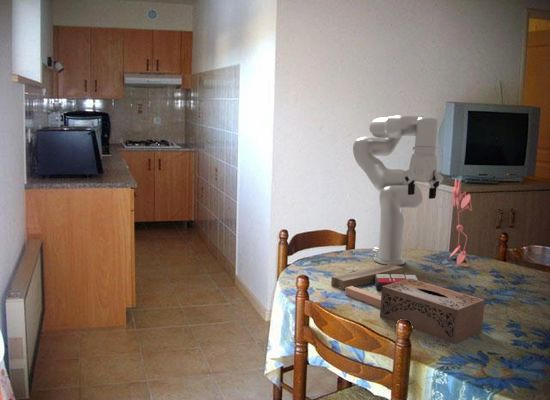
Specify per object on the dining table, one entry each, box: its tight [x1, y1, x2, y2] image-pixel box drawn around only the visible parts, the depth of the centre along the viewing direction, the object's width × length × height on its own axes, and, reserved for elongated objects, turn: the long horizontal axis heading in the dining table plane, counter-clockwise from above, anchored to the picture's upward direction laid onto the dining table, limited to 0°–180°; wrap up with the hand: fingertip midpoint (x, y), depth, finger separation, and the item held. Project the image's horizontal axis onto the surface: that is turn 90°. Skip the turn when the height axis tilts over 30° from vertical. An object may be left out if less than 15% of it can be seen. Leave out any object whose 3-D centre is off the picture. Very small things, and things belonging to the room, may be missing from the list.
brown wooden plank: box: [330, 264, 404, 290], centre depth 222 cm, size 6×32×3 cm, turn 129°
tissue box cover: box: [379, 278, 486, 345], centre depth 179 cm, size 26×14×10 cm, turn 42°
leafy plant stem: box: [433, 178, 473, 268], centre depth 249 cm, size 15×26×35 cm, turn 175°
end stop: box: [344, 286, 381, 308], centre depth 199 cm, size 16×3×2 cm, turn 39°
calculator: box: [374, 273, 420, 292], centre depth 214 cm, size 11×4×15 cm
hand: (421, 196), depth 226 cm, fingers open, 9 cm apart
